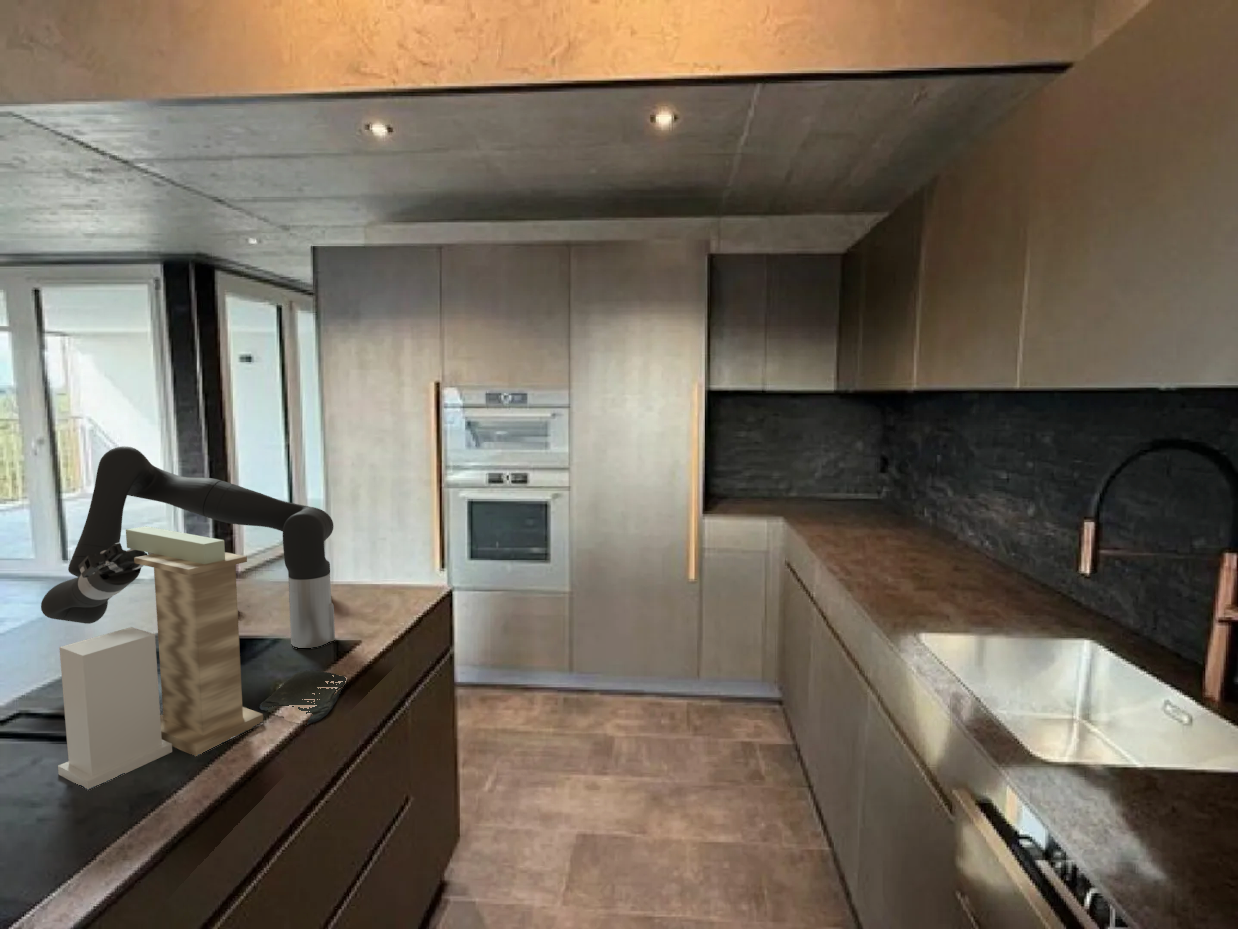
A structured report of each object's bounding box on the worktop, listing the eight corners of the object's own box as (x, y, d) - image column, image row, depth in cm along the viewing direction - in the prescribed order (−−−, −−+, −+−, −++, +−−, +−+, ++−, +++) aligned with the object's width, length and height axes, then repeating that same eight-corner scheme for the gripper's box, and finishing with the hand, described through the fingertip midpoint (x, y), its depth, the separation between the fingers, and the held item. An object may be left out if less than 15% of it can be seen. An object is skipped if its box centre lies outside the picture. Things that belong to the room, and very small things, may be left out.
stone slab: (255, 686, 133) (254, 677, 132) (341, 669, 142) (341, 660, 142) (261, 738, 113) (260, 727, 112) (361, 714, 122) (361, 704, 122)
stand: (139, 732, 113) (127, 558, 110) (207, 703, 124) (198, 545, 121) (196, 756, 106) (185, 571, 103) (263, 724, 117) (255, 555, 113)
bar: (126, 547, 118) (125, 529, 117) (147, 544, 121) (146, 526, 120) (204, 564, 107) (203, 544, 107) (225, 559, 110) (224, 540, 110)
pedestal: (58, 774, 100) (48, 648, 98) (142, 738, 111) (134, 624, 109) (88, 790, 96) (78, 659, 94) (172, 752, 107) (164, 633, 105)
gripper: (58, 566, 119) (94, 531, 112) (142, 550, 132) (179, 518, 125) (71, 602, 118) (108, 570, 111) (154, 583, 131) (192, 552, 124)
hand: (146, 542), depth 118 cm, fingers open, 8 cm apart
